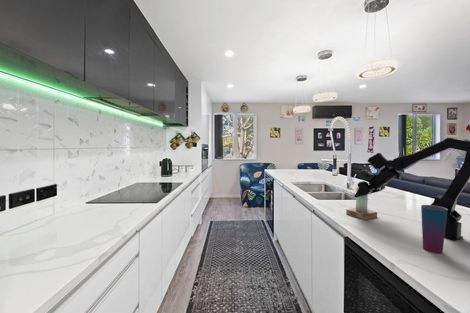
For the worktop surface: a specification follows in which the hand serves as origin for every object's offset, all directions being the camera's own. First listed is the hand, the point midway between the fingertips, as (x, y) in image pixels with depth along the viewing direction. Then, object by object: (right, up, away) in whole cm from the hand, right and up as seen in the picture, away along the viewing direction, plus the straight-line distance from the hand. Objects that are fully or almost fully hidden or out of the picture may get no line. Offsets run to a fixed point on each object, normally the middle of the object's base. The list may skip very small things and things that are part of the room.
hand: (359, 195), depth 115 cm
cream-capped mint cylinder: (+1, -8, -1) cm, 8 cm away
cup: (+3, -12, -39) cm, 41 cm away
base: (+1, -10, -1) cm, 10 cm away
